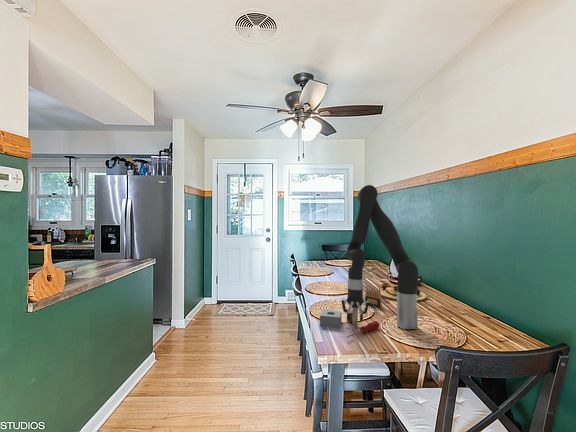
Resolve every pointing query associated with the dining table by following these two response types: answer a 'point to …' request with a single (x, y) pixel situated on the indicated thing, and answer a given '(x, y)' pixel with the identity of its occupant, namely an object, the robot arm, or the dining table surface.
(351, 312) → the walnut stub
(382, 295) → the wooden plate with food
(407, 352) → the dining table surface
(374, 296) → the ammunition clip
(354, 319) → the birch dowel
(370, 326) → the screwdriver
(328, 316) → the block
